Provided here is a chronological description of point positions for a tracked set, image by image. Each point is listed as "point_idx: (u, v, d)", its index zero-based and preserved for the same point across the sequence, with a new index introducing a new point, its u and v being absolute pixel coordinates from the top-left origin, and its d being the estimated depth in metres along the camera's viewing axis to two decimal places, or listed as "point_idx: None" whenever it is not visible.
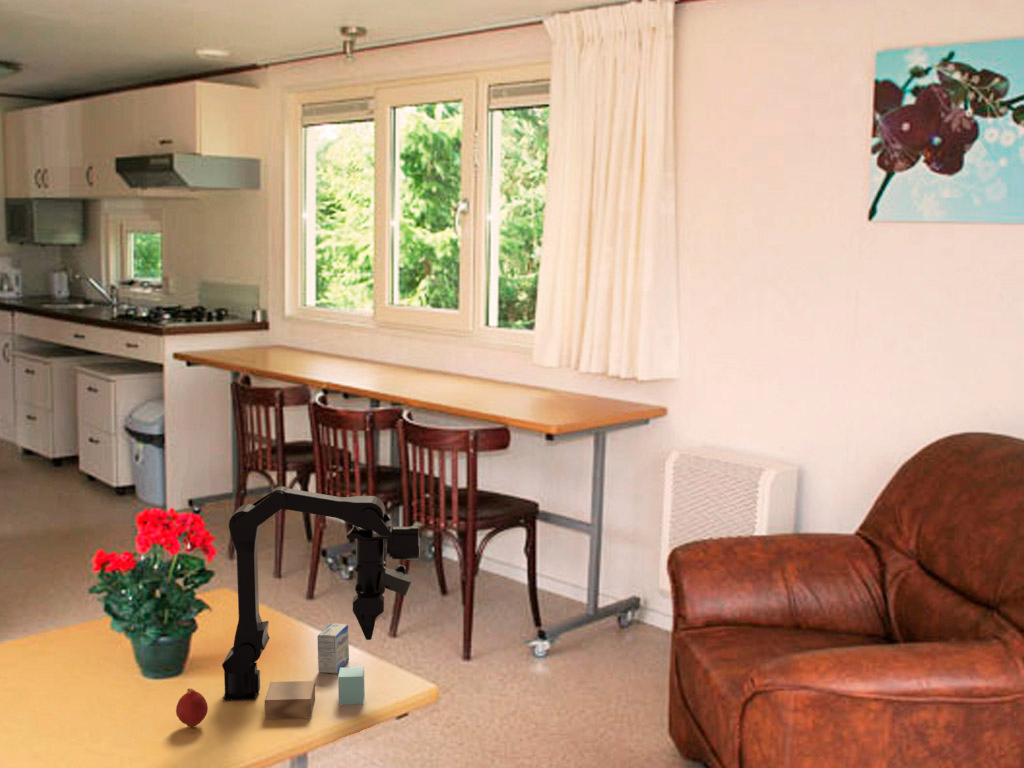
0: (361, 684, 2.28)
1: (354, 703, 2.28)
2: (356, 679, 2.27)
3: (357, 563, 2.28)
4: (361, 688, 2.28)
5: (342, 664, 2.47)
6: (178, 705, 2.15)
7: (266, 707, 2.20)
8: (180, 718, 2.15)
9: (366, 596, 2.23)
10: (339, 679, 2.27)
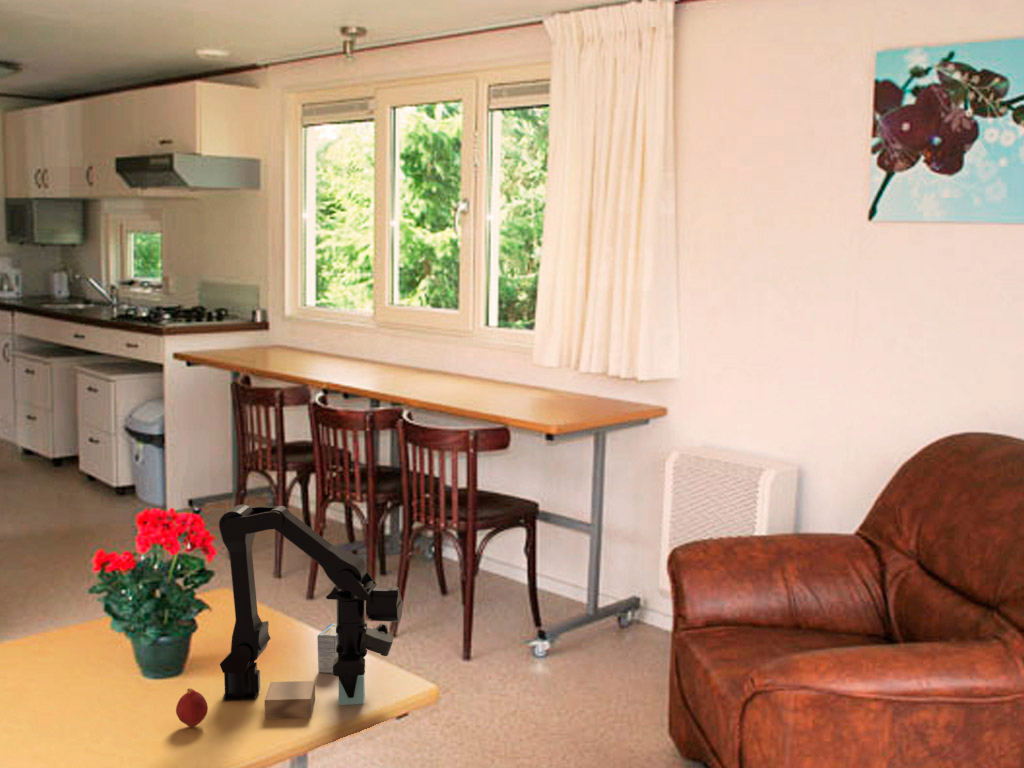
0: (361, 684, 2.28)
1: (354, 703, 2.28)
2: None
3: (338, 624, 2.27)
4: (361, 688, 2.28)
5: None
6: (178, 705, 2.15)
7: (266, 707, 2.20)
8: (180, 718, 2.15)
9: (346, 659, 2.21)
10: None
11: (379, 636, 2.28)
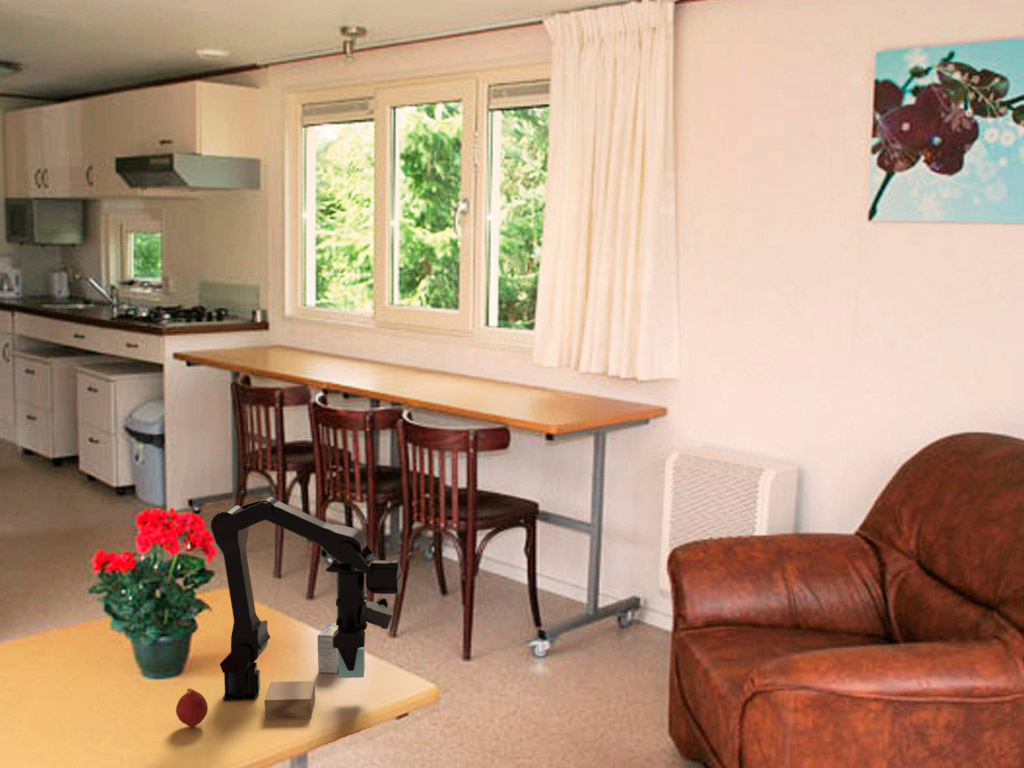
0: (361, 657, 2.27)
1: (354, 676, 2.27)
2: None
3: (338, 597, 2.26)
4: (361, 661, 2.27)
5: None
6: (178, 705, 2.15)
7: (266, 707, 2.20)
8: (180, 718, 2.15)
9: (346, 632, 2.20)
10: None
11: (379, 609, 2.27)
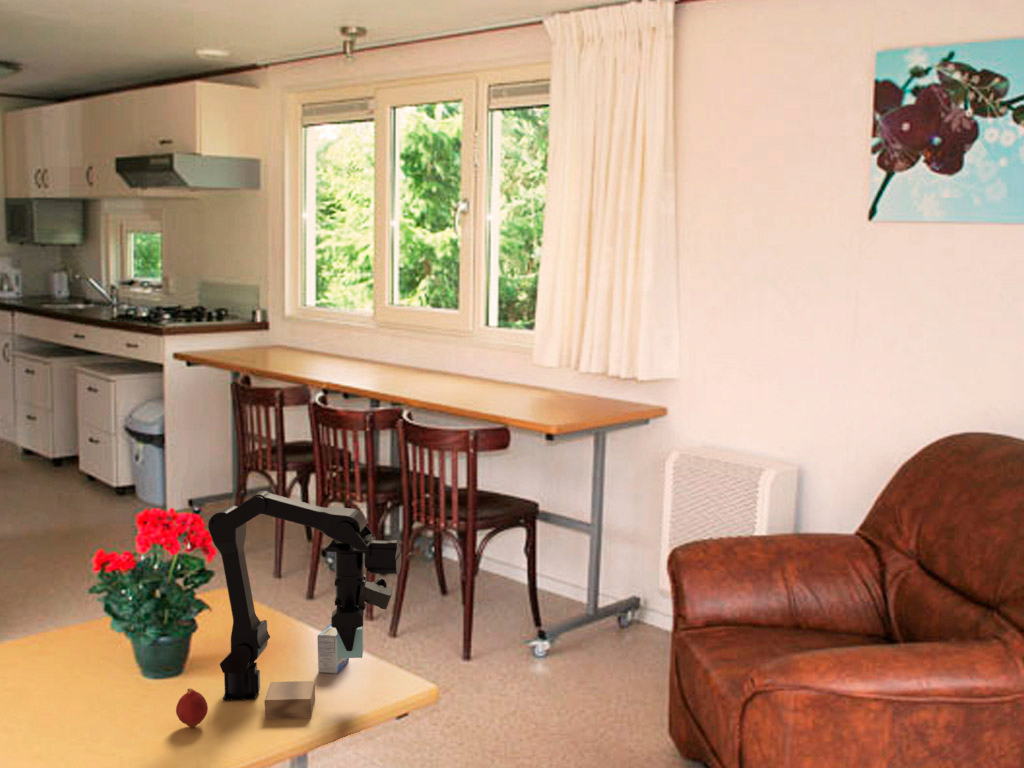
0: (360, 637, 2.26)
1: (353, 656, 2.27)
2: None
3: (336, 577, 2.25)
4: (360, 641, 2.26)
5: (342, 664, 2.47)
6: (178, 705, 2.15)
7: (266, 707, 2.20)
8: (180, 718, 2.15)
9: (345, 611, 2.20)
10: None
11: (378, 589, 2.27)
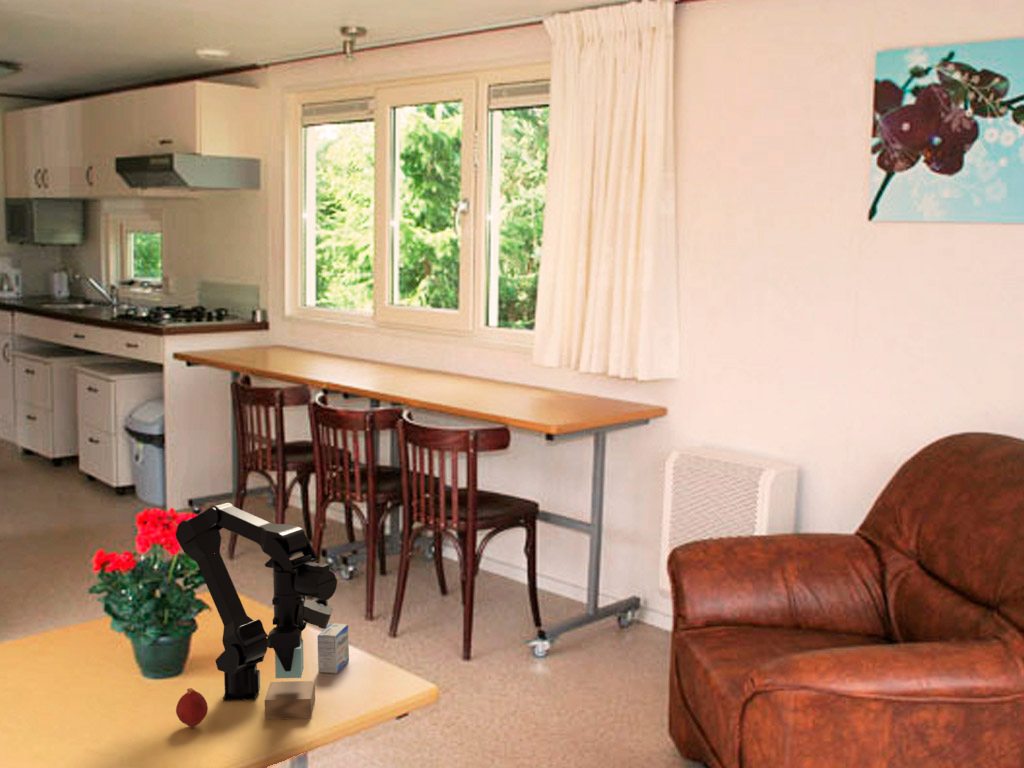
0: (298, 657, 2.22)
1: (291, 676, 2.22)
2: None
3: (274, 596, 2.21)
4: (298, 661, 2.22)
5: (342, 664, 2.47)
6: (178, 705, 2.15)
7: (266, 707, 2.20)
8: (180, 718, 2.15)
9: (281, 631, 2.15)
10: None
11: (317, 608, 2.22)
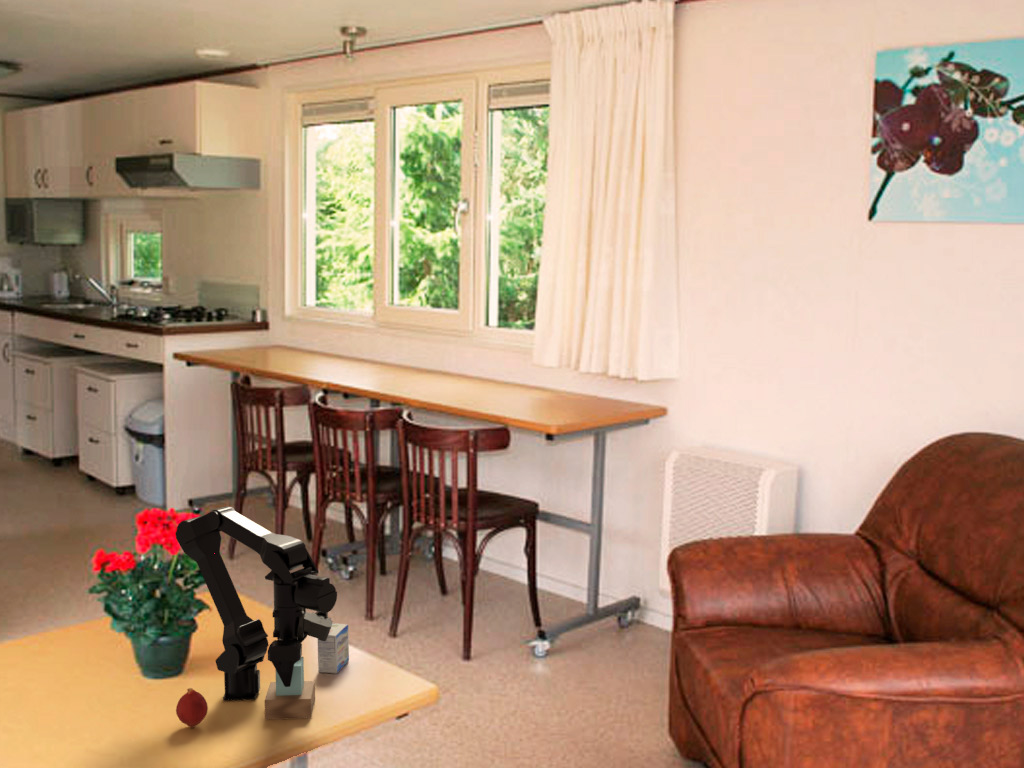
0: (299, 674, 2.22)
1: (292, 693, 2.23)
2: (294, 669, 2.22)
3: (275, 608, 2.21)
4: (299, 678, 2.22)
5: (342, 664, 2.47)
6: (178, 705, 2.15)
7: (266, 707, 2.20)
8: (180, 718, 2.15)
9: (281, 644, 2.16)
10: None
11: (317, 621, 2.23)
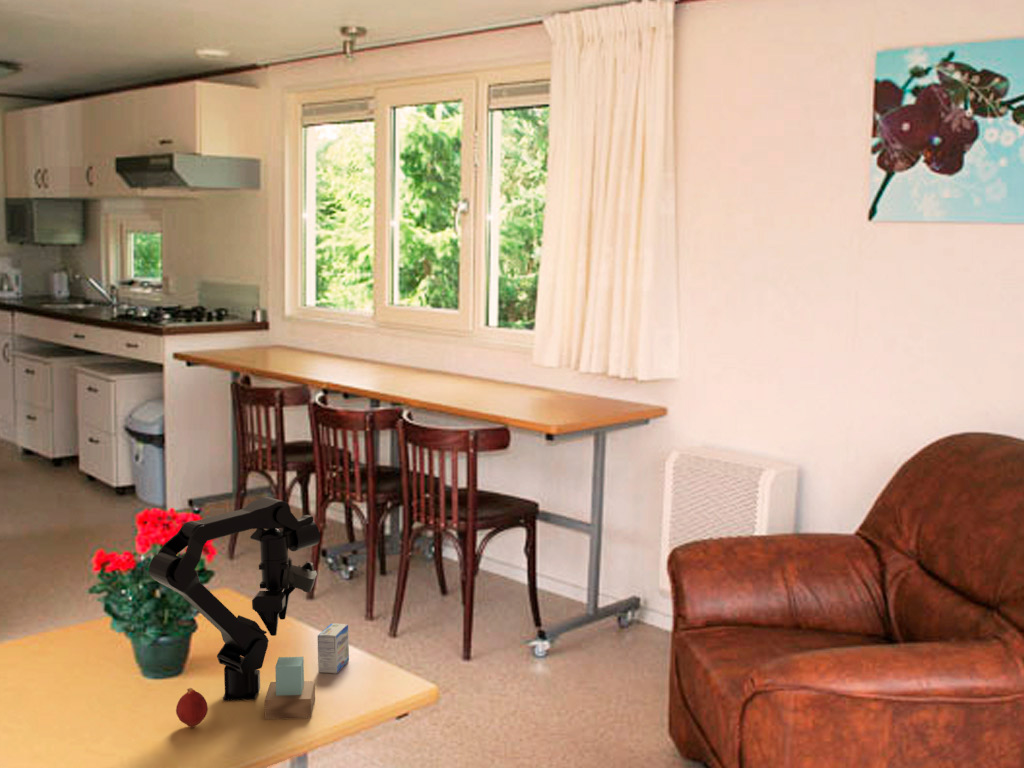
0: (299, 674, 2.22)
1: (292, 693, 2.23)
2: (294, 669, 2.22)
3: (261, 561, 2.34)
4: (299, 678, 2.22)
5: (342, 664, 2.47)
6: (178, 705, 2.15)
7: (266, 707, 2.20)
8: (180, 718, 2.15)
9: (265, 594, 2.29)
10: (276, 669, 2.22)
11: (302, 573, 2.35)
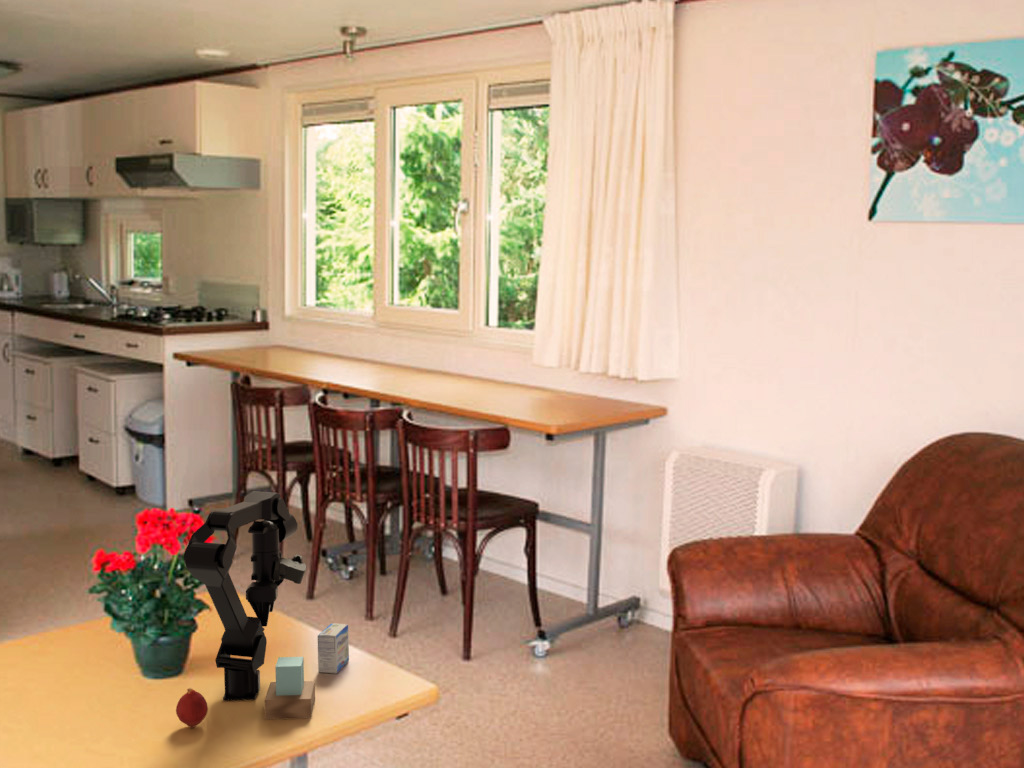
0: (299, 674, 2.22)
1: (292, 693, 2.23)
2: (294, 669, 2.22)
3: (253, 553, 2.40)
4: (299, 678, 2.22)
5: (342, 664, 2.47)
6: (178, 705, 2.15)
7: (266, 707, 2.20)
8: (180, 718, 2.15)
9: (259, 585, 2.34)
10: (276, 669, 2.22)
11: (292, 565, 2.41)
